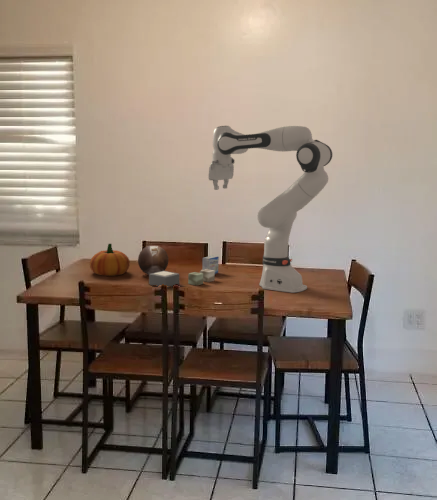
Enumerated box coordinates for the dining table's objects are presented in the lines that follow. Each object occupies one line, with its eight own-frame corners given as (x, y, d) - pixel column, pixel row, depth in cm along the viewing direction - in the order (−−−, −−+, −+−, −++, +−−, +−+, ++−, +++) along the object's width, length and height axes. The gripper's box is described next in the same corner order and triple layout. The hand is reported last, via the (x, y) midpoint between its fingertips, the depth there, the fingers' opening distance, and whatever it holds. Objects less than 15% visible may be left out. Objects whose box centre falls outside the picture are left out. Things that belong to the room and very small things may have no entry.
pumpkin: (100, 279, 292) (100, 248, 289) (83, 272, 307) (83, 242, 304) (136, 275, 303) (136, 245, 301) (118, 268, 318) (118, 239, 316)
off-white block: (214, 280, 296) (214, 270, 295) (208, 282, 292) (208, 272, 291) (206, 278, 299) (206, 268, 298) (200, 280, 295) (200, 270, 294)
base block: (179, 284, 287) (179, 273, 286) (165, 288, 279) (165, 276, 278) (163, 280, 293) (163, 270, 292) (149, 284, 285) (149, 273, 284)
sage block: (203, 283, 289) (203, 273, 288) (196, 285, 285) (196, 275, 284) (194, 282, 292) (195, 271, 291) (188, 284, 288) (188, 273, 287)
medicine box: (208, 275, 306) (209, 258, 305) (202, 274, 309) (202, 257, 307) (218, 273, 313) (218, 256, 311) (211, 271, 315) (212, 255, 314)
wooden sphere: (144, 279, 294) (144, 248, 292) (133, 273, 308) (133, 243, 305) (172, 277, 301) (173, 247, 298) (161, 270, 314) (161, 242, 312)
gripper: (217, 161, 283) (216, 190, 286) (236, 160, 301) (235, 188, 304) (205, 160, 286) (204, 190, 288) (224, 159, 304) (224, 187, 307)
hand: (220, 189), depth 296 cm, fingers open, 8 cm apart
